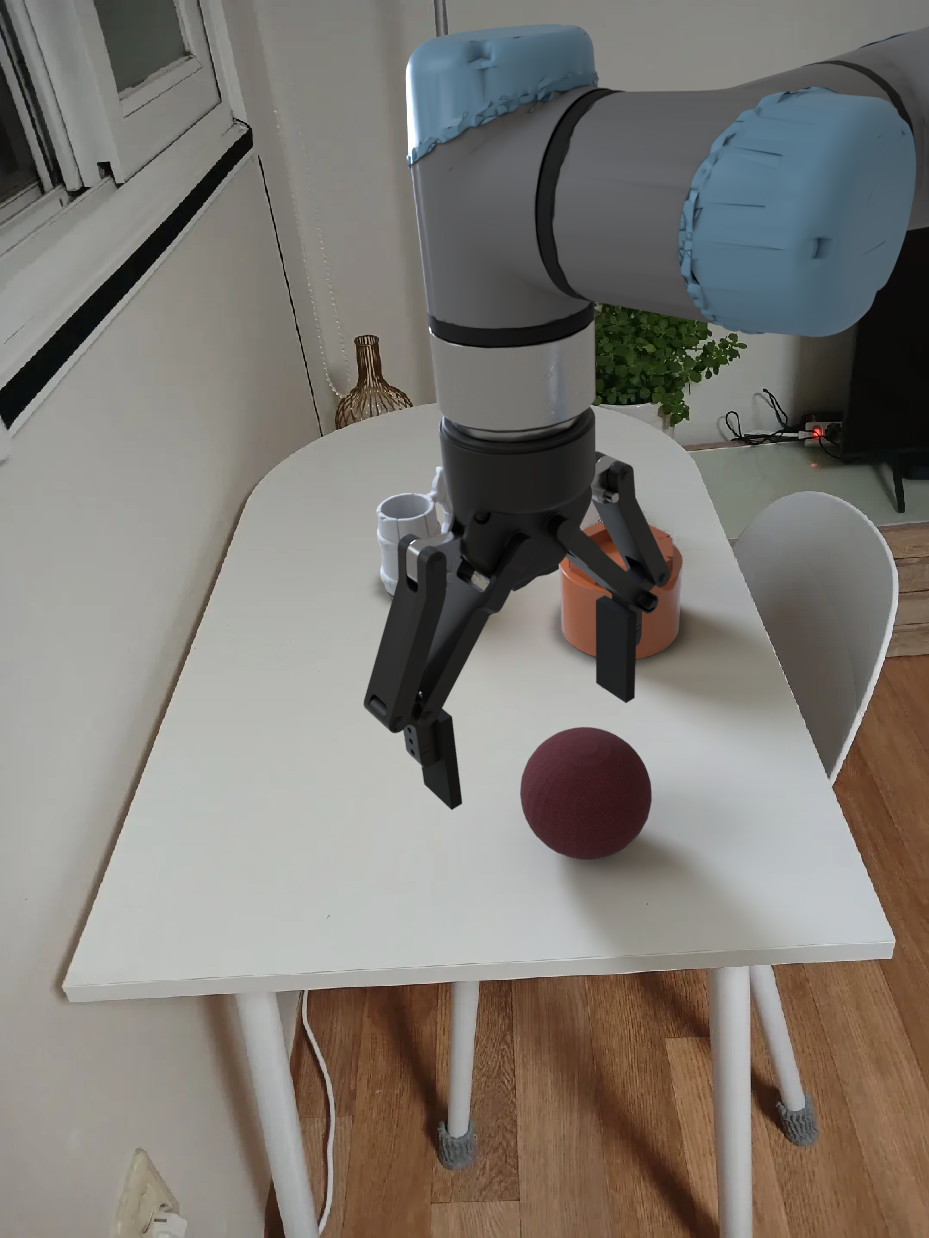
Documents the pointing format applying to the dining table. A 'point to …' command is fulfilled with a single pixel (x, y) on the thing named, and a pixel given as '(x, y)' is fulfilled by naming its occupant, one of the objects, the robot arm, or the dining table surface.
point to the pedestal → (585, 591)
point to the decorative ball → (586, 793)
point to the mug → (410, 523)
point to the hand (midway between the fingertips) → (533, 739)
